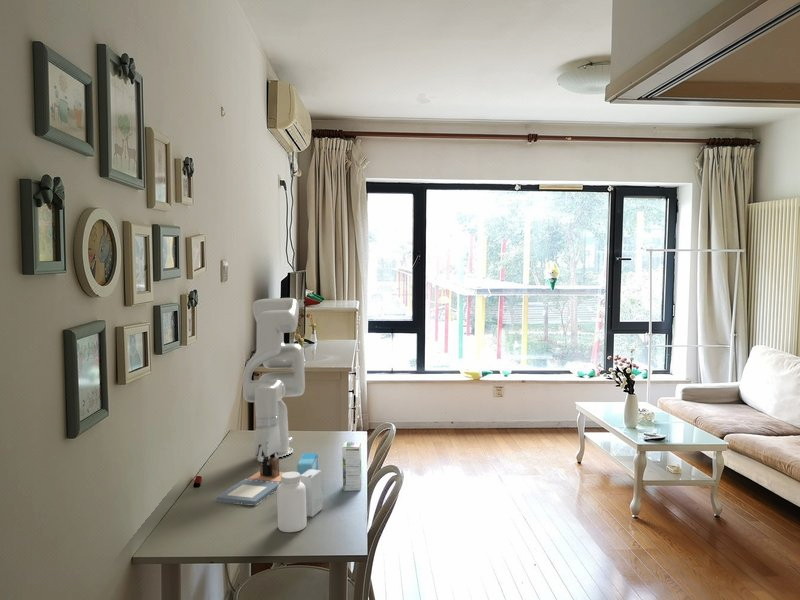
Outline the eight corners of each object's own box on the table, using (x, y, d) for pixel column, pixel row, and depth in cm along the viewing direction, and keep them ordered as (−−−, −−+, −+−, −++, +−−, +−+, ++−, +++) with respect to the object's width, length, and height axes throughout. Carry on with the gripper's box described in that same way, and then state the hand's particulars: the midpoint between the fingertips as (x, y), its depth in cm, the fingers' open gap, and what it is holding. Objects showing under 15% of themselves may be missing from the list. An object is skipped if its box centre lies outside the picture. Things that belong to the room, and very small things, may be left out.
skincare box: (310, 507, 182) (308, 468, 182) (323, 509, 181) (322, 469, 180) (299, 515, 177) (298, 475, 176) (313, 517, 175) (311, 477, 174)
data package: (313, 502, 186) (311, 464, 185) (298, 502, 186) (296, 464, 186) (319, 487, 198) (317, 451, 197) (305, 487, 198) (303, 452, 197)
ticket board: (244, 483, 204) (244, 478, 204) (281, 486, 200) (281, 482, 200) (216, 501, 189) (216, 496, 189) (255, 506, 185) (255, 501, 185)
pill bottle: (308, 530, 167) (306, 477, 166) (279, 535, 165) (276, 481, 164) (305, 519, 174) (302, 468, 173) (276, 523, 172) (274, 471, 171)
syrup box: (344, 484, 200) (342, 441, 199) (362, 484, 200) (360, 441, 199) (343, 491, 194) (341, 447, 193) (361, 490, 194) (359, 446, 193)
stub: (260, 474, 212) (259, 453, 211) (291, 477, 208) (290, 455, 208) (248, 482, 204) (247, 460, 204) (279, 485, 201) (278, 463, 200)
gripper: (269, 414, 214) (272, 465, 215) (244, 427, 198) (247, 481, 200) (288, 415, 211) (291, 467, 213) (264, 428, 196) (267, 483, 197)
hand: (269, 473), depth 206 cm, fingers closed on stub, 2 cm apart
